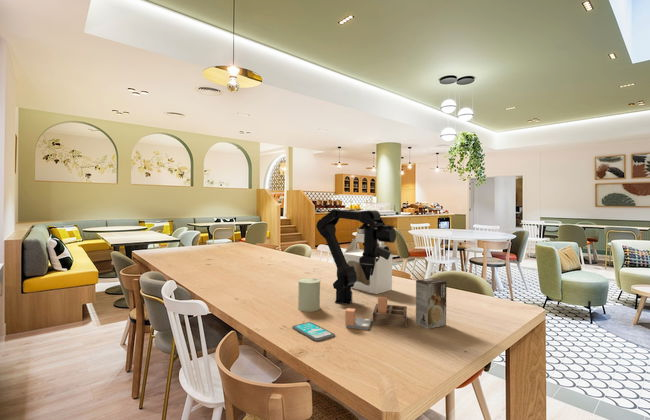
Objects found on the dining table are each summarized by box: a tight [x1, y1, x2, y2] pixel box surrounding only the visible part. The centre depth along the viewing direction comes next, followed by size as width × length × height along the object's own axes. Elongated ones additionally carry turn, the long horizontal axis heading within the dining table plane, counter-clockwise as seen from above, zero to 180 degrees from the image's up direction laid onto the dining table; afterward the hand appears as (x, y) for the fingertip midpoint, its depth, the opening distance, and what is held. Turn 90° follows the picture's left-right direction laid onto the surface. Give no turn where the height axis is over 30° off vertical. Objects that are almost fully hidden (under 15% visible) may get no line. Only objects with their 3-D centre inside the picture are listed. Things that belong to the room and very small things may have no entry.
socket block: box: [372, 303, 408, 328], centre depth 123 cm, size 12×12×4 cm
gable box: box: [343, 233, 393, 295], centre depth 171 cm, size 22×13×28 cm, turn 43°
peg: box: [377, 295, 388, 314], centre depth 121 cm, size 3×3×8 cm
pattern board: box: [344, 307, 373, 331], centre depth 118 cm, size 8×8×6 cm
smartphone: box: [292, 321, 336, 343], centre depth 111 cm, size 9×1×15 cm
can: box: [297, 277, 321, 313], centre depth 136 cm, size 9×9×12 cm
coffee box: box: [415, 277, 447, 330], centre depth 119 cm, size 9×6×16 cm
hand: (369, 277), depth 137 cm, fingers open, 9 cm apart
